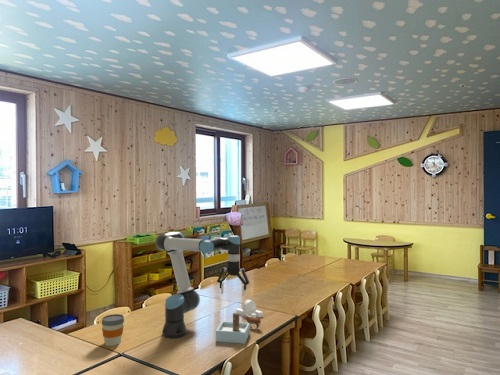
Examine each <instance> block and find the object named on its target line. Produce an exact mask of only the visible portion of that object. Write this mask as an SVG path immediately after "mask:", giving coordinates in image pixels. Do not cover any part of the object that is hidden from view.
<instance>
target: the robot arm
mask: <svg viewBox="0 0 500 375" xmlns="http://www.w3.org/2000/svg"><path fill="white" fill-rule="evenodd" d="M155 247H156V249H158V250H159V251H162V252H164V251H165V252H166V254H168V255H169V257H170V260H171V265H172V269H173V272H174V277H175V281H176V285H177V289H178V290H177V292H176V293H175V294H172V295H169V296H167V298H166V299H165V304H164V307H165V308H164V309H165V310H164V313H165V314H164V317H165V319H164V321H165V322H164V325H163V328H162V332H161V334H162V336H163V337H165V338H168V339H169V338H170V339H177V338H182V337H184V336H185V335H186V334H187V331H188V330H187V326H186V323H185V314H187V313H188V312H190V311H193V310H195V309H197V308H198V307H199V304H200V302H201V299H200V298H201V297H200V295H199V293H198V292H197V291H195V288H194V287H193V286H191V282H190V277H189V273H188V270H187V269H188V268H187V265H186V261H185V257H184V253H183V252H184V251H188V252H201V253H203V254H210V253H213V252H216V251H221V250H222V251H227V267H225V266H223V267H222V270H221V273H220V274H219V277H218V278H217V280H216V282H217V283H219V289H220V294H221V295H223V294H224V281H225V280H226V279H227V277H229V276H235V277H237V278H238V279H239V280H240V281H241V283H242V297H244V296H245V292H246V290H247V285H249V284H250V281H249V278H248V277H247V276H248V275H247V274H246V271H245V268H244V267H243V268H241V267H240V263H241V262H240V260H241V253H240V252H241V251H240V250H241V236H239V235H234V234H233V235H228V237H220V236H217V237H216V236H214V237H212V238H211V239H200V238H185V236H184V234H183V233H181V232H180V231H171V232H162V233H160V234H159V235H158V236H157V237H156V238H155ZM225 272H227V273H226V275H224V273H225ZM240 273H241V274H242V275H241V274H240ZM223 275H224V277H223Z"/></svg>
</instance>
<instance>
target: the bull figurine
mask: <svg viewBox="0 0 500 375" xmlns="http://www.w3.org/2000/svg"><path fill="white" fill-rule="evenodd" d="M244 316H245V317H244ZM244 316H243V317H244V318H246V321H247V322H246V323H249V328H250V327H251V328H252V326H256V327H255V330H256V331H258V330H259V327H260V326H261V319H260V318H259V317H256V318H254V317H252V316H250V315H248V314H246V315H244Z"/></svg>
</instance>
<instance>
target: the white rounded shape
mask: <svg viewBox="0 0 500 375" xmlns="http://www.w3.org/2000/svg"><path fill="white" fill-rule="evenodd" d="M256 305H257V304H256V302H255V301H254V300H251V299H246V300H245V301H244V303H243V304H242V309H241V308H239V307H238V308H236V309H235V313H239V316H241V317H244V318H246V317H245V316H244V315H246V314H248V315H250V316H252V317H254V318H259V319H260V318H262V317H263V316H264V314H263V311H261V310H258V309H256Z"/></svg>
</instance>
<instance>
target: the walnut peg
mask: <svg viewBox="0 0 500 375" xmlns="http://www.w3.org/2000/svg"><path fill="white" fill-rule="evenodd" d="M232 322H233V331H238V332H239V322H240V315H239V313H236V312H234V313H232Z"/></svg>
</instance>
